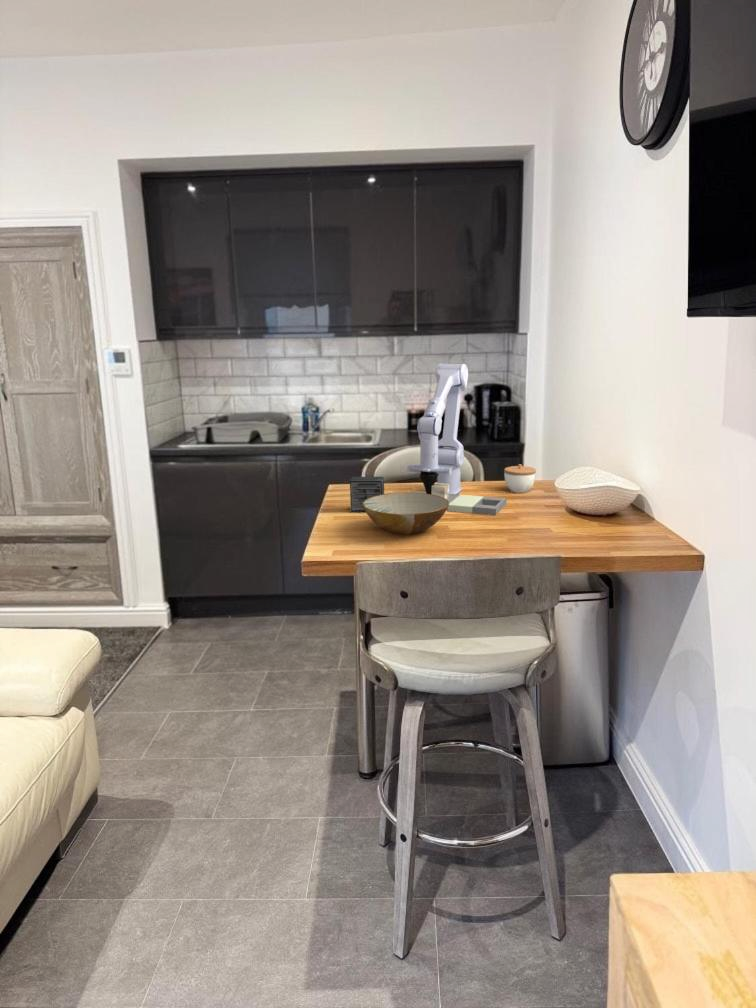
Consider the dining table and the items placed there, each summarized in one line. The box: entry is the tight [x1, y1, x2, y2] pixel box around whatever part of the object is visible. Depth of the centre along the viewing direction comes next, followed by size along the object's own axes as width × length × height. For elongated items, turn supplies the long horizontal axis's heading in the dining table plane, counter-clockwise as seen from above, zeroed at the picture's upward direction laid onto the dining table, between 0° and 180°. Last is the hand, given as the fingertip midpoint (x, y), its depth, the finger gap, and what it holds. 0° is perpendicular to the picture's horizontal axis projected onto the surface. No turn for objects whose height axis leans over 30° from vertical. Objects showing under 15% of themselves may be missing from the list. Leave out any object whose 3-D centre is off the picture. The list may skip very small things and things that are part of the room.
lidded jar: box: [504, 463, 537, 494], centre depth 252 cm, size 11×11×9 cm
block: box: [432, 482, 449, 499], centre depth 236 cm, size 4×4×4 cm
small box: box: [349, 476, 385, 513], centre depth 230 cm, size 11×6×10 cm, turn 84°
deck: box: [411, 490, 507, 516], centre depth 235 cm, size 14×32×2 cm, turn 67°
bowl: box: [362, 491, 449, 536], centre depth 209 cm, size 25×25×8 cm
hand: (429, 494), depth 237 cm, fingers closed
